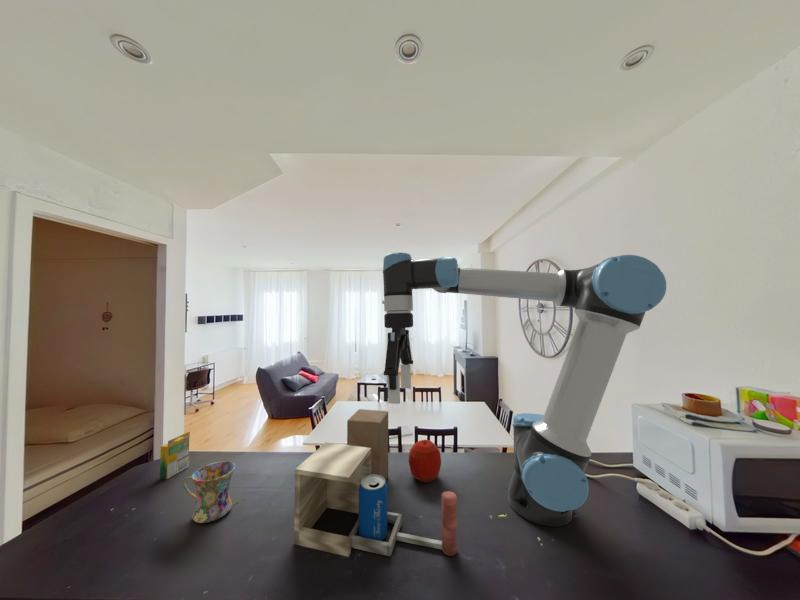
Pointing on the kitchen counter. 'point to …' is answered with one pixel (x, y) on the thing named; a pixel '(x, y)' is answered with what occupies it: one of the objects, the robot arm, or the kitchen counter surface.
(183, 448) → the crayon box
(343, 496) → the open wooden box
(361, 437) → the wooden block
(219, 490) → the mug
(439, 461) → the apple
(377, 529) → the beverage can
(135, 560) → the kitchen counter surface
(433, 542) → the square frame pulling tool
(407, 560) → the kitchen counter surface
